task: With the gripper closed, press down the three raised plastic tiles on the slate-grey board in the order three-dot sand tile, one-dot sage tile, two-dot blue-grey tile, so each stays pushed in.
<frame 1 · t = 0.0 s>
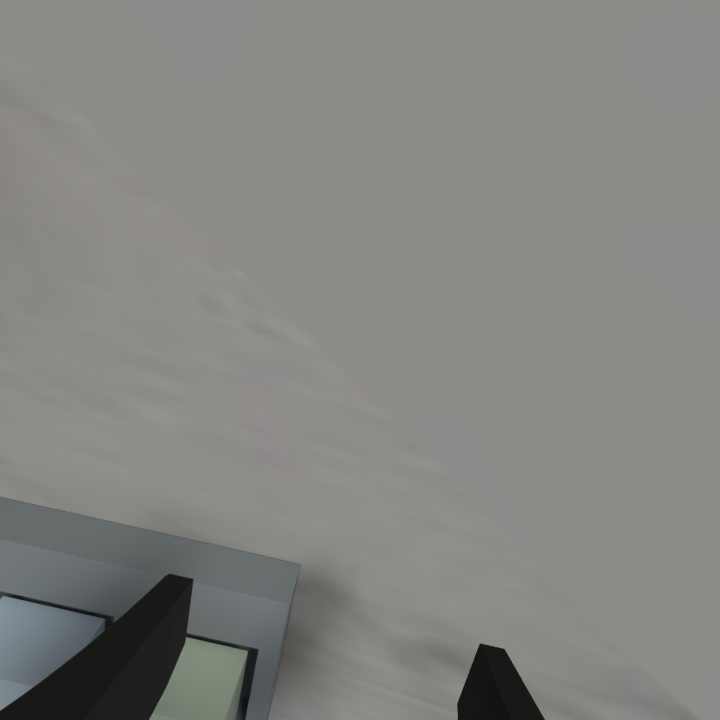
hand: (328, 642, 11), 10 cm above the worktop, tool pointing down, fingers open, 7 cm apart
tile one dot: (174, 716, 21), point 4 cm above the worktop, slide at 0.0 cm
board: (84, 609, 25), on the worktop
tile two dots: (24, 682, 21), point 4 cm above the worktop, slide at 0.0 cm
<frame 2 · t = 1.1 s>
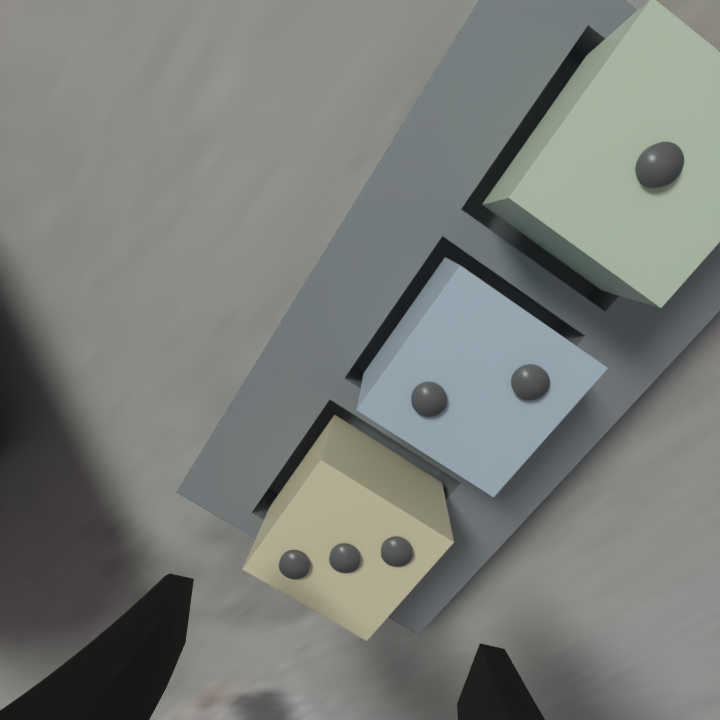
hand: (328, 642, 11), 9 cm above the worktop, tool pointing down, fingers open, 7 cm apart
tile one dot: (623, 173, 13), point 4 cm above the worktop, slide at 0.0 cm
board: (451, 340, 18), on the worktop
tile three dots: (349, 524, 16), point 4 cm above the worktop, slide at 0.0 cm
tile two dots: (468, 371, 14), point 4 cm above the worktop, slide at 0.0 cm
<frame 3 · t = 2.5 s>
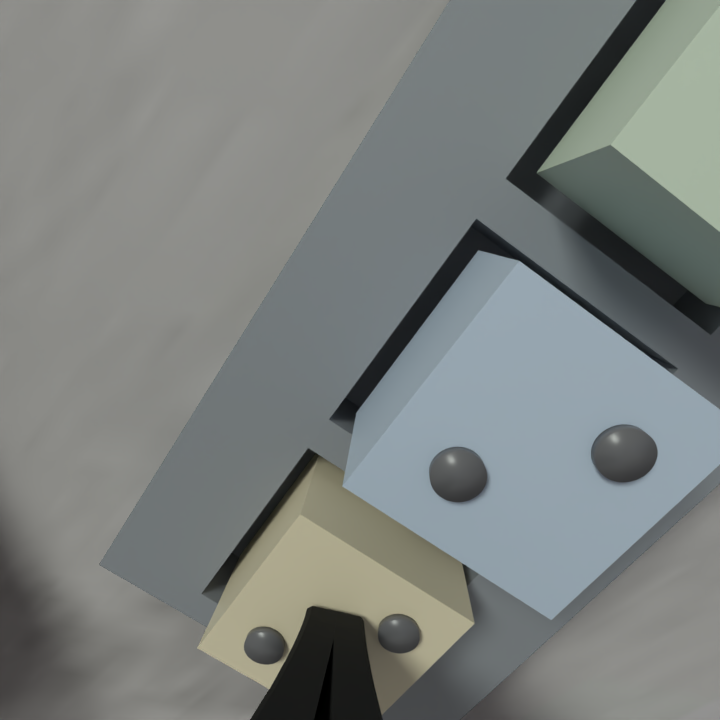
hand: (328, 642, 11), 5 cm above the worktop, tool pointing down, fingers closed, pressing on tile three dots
board: (477, 365, 14), on the worktop
tile three dots: (338, 585, 13), point 3 cm above the worktop, slide at -1.4 cm, touching gripper
tile two dots: (513, 422, 10), point 4 cm above the worktop, slide at 0.0 cm
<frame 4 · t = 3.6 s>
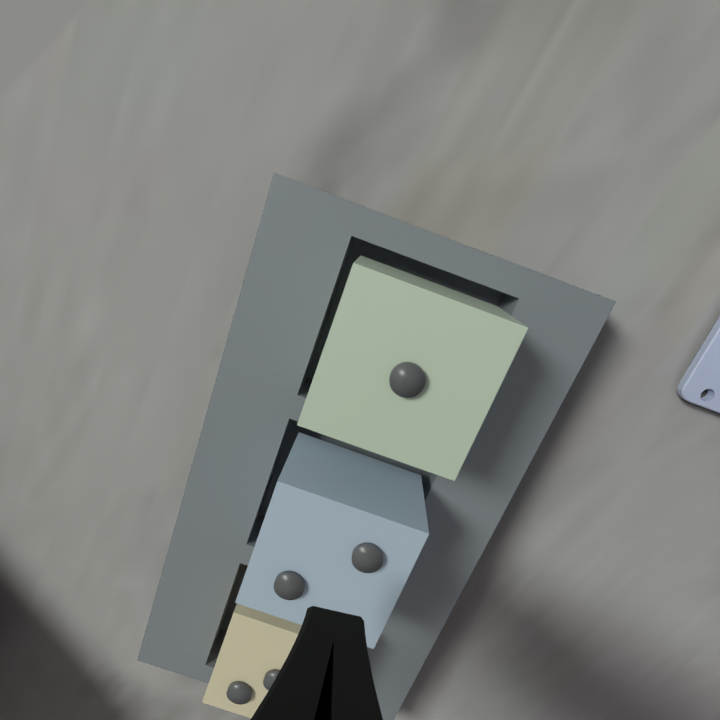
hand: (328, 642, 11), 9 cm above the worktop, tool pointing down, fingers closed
tile one dot: (405, 362, 14), point 4 cm above the worktop, slide at 0.0 cm
board: (344, 476, 20), on the worktop
tile three dots: (285, 642, 20), point 3 cm above the worktop, slide at -1.4 cm
tile two dots: (333, 536, 16), point 4 cm above the worktop, slide at 0.0 cm
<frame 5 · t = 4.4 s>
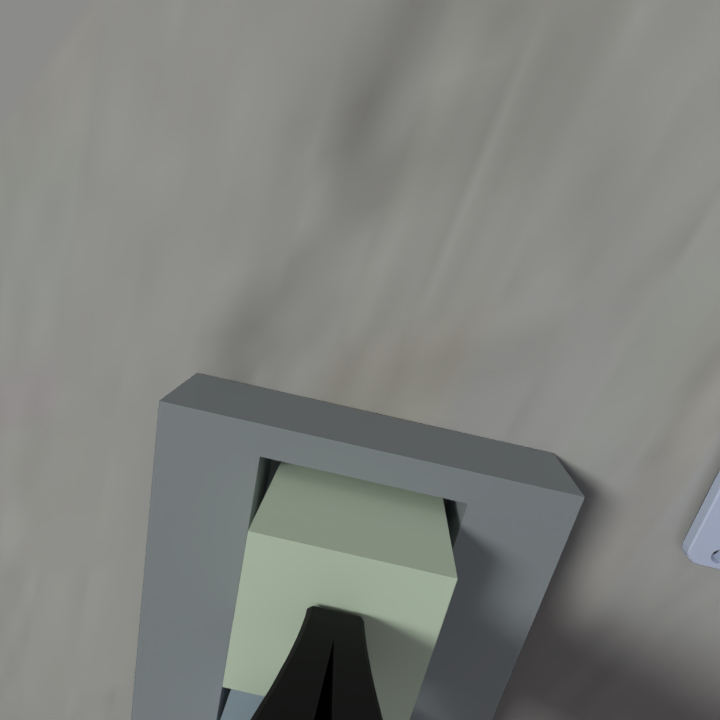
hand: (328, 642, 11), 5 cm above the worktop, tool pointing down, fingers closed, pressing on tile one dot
tile one dot: (339, 585, 13), point 3 cm above the worktop, slide at -0.9 cm, touching gripper
board: (314, 661, 18), on the worktop
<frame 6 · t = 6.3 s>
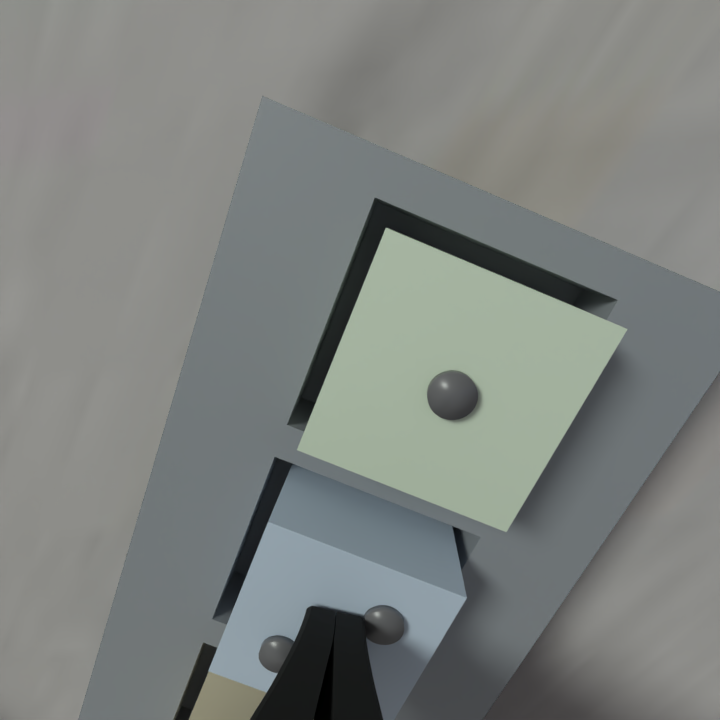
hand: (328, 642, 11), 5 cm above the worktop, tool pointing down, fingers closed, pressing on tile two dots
tile one dot: (442, 369, 11), point 3 cm above the worktop, slide at -1.4 cm
board: (347, 525, 15), on the worktop
tile two dots: (338, 586, 13), point 3 cm above the worktop, slide at -1.4 cm, touching gripper
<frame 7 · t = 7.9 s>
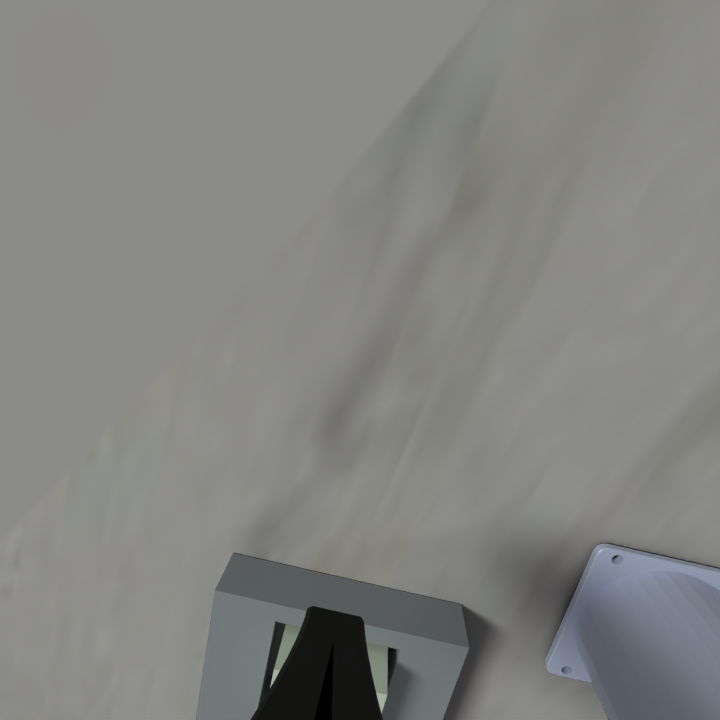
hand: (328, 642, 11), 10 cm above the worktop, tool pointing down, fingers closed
tile one dot: (325, 687, 22), point 3 cm above the worktop, slide at -1.4 cm
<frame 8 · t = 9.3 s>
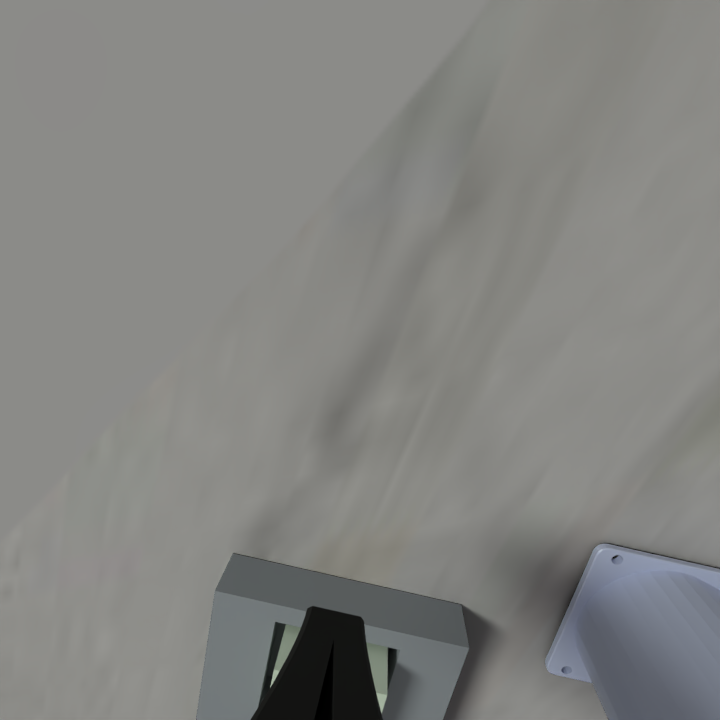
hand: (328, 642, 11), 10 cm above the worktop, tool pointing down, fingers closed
tile one dot: (325, 687, 22), point 3 cm above the worktop, slide at -1.4 cm
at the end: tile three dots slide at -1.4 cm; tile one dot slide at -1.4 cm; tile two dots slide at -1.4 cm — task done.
